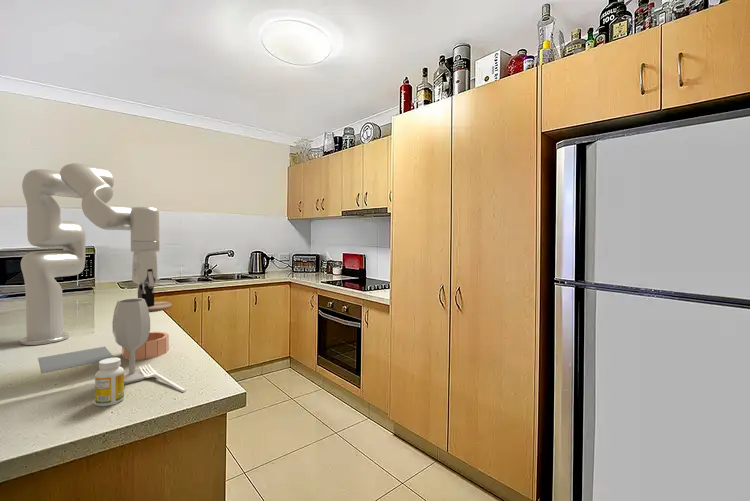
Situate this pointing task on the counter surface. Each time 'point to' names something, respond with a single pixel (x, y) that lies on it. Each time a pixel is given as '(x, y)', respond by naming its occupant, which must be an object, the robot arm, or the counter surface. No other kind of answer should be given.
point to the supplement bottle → (109, 382)
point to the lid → (156, 304)
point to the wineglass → (131, 331)
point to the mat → (73, 359)
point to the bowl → (151, 346)
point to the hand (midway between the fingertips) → (146, 304)
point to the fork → (159, 377)
